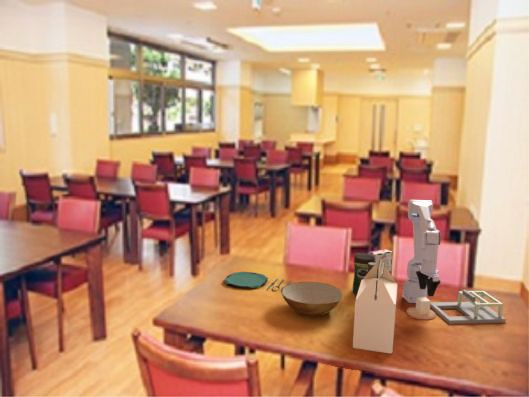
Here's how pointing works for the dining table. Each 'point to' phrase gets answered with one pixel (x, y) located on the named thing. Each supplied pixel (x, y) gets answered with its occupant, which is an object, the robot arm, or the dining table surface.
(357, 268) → the coffee jar
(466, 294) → the cream slatted rack
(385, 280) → the gable box
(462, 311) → the puzzle board
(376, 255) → the candy bar box
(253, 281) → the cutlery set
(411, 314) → the terracotta dish
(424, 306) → the cream block
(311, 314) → the bowl
